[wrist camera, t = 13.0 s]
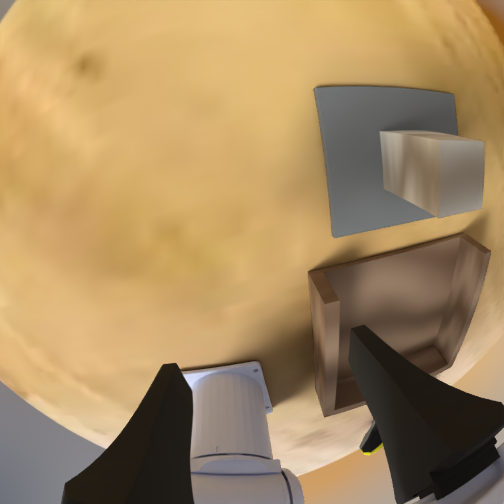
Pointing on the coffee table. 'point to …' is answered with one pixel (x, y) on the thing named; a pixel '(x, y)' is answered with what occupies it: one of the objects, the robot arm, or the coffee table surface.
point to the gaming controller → (371, 440)
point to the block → (434, 170)
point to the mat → (372, 150)
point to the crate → (394, 310)
